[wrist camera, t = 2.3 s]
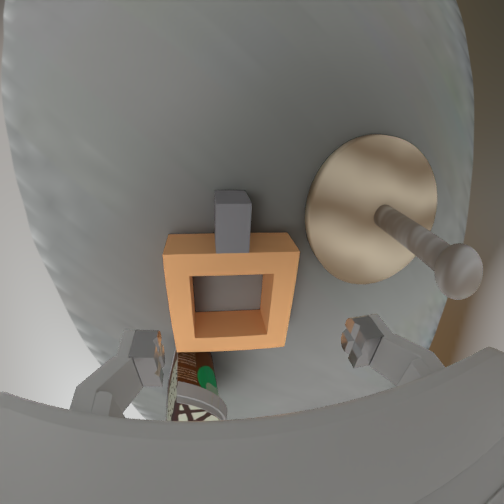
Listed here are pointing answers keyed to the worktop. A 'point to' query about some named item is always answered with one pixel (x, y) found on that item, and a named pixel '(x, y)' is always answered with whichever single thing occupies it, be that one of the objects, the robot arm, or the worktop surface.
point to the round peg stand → (383, 217)
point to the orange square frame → (230, 263)
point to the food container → (193, 389)
